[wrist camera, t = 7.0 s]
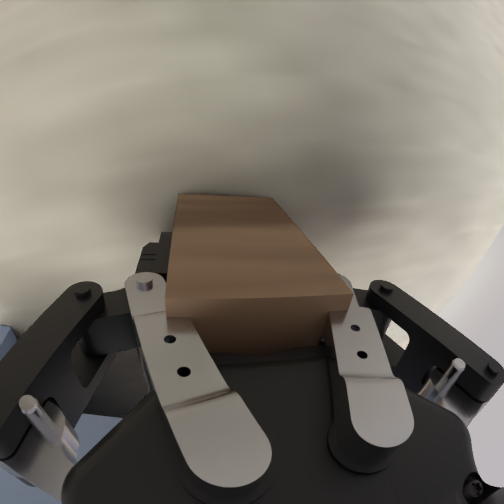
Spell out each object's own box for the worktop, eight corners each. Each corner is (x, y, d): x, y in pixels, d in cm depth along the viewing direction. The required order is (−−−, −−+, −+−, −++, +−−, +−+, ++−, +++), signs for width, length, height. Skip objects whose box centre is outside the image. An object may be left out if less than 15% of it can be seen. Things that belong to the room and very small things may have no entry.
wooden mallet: (178, 194, 13) (164, 298, 6) (272, 198, 14) (353, 293, 7) (188, 422, 21) (197, 506, 14) (239, 420, 22) (257, 500, 15)
